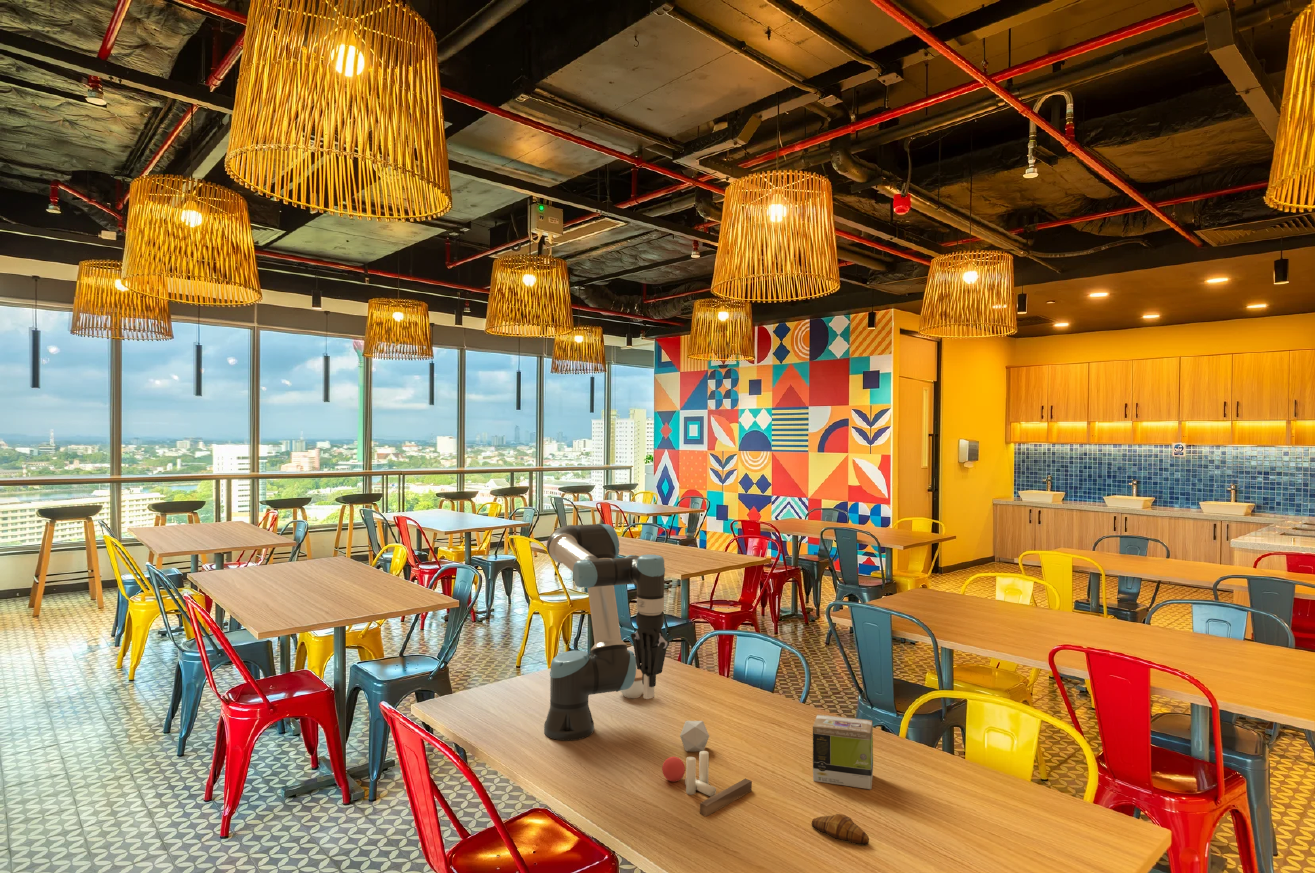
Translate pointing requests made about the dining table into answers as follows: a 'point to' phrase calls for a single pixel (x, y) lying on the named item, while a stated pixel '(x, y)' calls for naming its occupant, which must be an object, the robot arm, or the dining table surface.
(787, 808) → the dining table surface
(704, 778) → the back pin left
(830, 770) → the tea box
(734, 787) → the back rail
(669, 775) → the ball
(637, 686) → the lidded jar
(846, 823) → the croissant
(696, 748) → the die
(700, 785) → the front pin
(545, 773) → the dining table surface
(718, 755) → the dining table surface
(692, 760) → the back pin right
